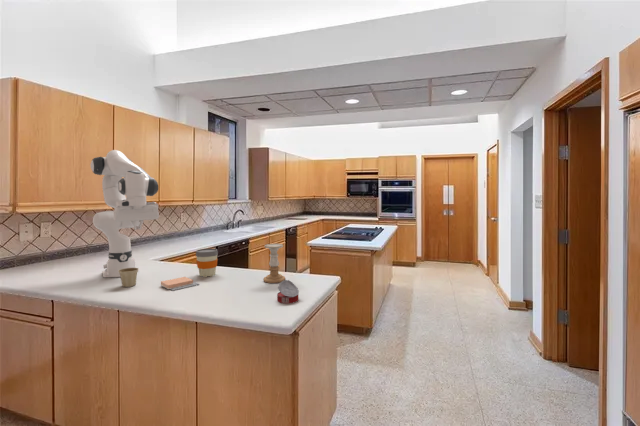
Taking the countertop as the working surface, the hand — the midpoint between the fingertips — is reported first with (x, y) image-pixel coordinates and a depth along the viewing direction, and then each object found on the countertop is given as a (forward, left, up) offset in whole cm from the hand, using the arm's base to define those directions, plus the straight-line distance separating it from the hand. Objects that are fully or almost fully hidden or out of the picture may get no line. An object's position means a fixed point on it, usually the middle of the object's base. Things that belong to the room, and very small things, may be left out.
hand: (137, 229), depth 162 cm
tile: (+8, +9, -30) cm, 32 cm away
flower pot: (-11, -2, -31) cm, 33 cm away
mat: (+8, +17, -31) cm, 36 cm away
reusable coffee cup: (0, +37, -31) cm, 48 cm away
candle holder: (+39, +57, -31) cm, 76 cm away
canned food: (+69, +41, -32) cm, 86 cm away
